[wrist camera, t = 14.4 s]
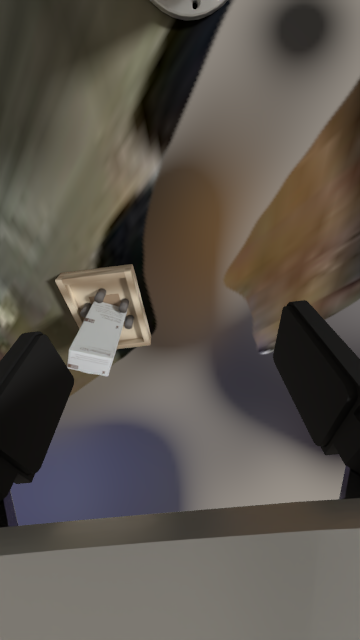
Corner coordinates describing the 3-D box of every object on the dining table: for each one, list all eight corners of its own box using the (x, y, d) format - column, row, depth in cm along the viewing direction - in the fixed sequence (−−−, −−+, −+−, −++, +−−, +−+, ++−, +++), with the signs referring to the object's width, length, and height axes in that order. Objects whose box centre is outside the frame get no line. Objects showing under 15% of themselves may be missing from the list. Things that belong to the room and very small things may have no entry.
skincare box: (127, 308, 40) (115, 358, 31) (122, 326, 43) (109, 378, 33) (92, 298, 39) (68, 348, 29) (89, 318, 41) (66, 369, 32)
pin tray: (61, 273, 37) (51, 283, 34) (132, 264, 37) (129, 274, 34) (94, 342, 47) (89, 355, 44) (151, 336, 47) (150, 349, 44)
